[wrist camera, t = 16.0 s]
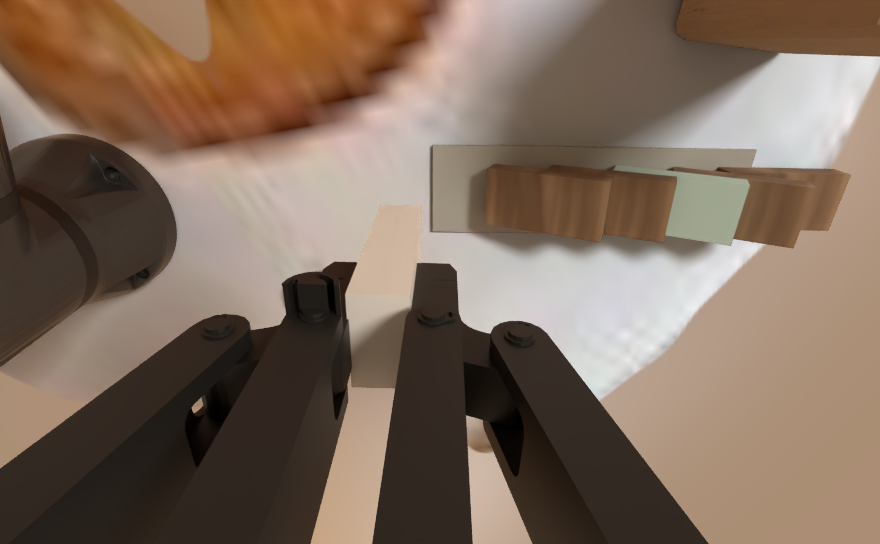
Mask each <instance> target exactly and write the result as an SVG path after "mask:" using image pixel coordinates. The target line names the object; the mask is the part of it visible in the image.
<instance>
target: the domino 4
mask: <svg viewBox="0 0 880 544" xmlns="http://www.w3.org/2000/svg"><path fill="white" fill-rule="evenodd" d="M718 171H719V172H728V173H737V174H746V175H755V176H763V177H772V178H781V179H790V180H799V181H808V182H812V183H813V184H814V186H815V187H816V191H815V193H814V196H813V199H812V201H811V204H810V206H809V209H808V212H807V214H806V217H805V219H804V222H803V225H802V227H801V230H817V231H818V230H819V231H821V230H822V231H828V230H829V228H830V226H831V223H832V220H833V218H834V216H835V213H836V211H837V208H838V206H839V203H840V201H841V199H842V196H843V194H844V191H845V188H846V186H847V184H848V181H849V178H850V176H851V175H850V174H847V173H843V172H841V171H838V170H835V169H799V168H744V167H719V169H718Z"/></svg>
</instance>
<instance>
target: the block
mask: <svg viewBox="0 0 880 544" xmlns="http://www.w3.org/2000/svg"><path fill="white" fill-rule="evenodd" d="M676 34H678V35H679V36H680V37H682V38H683V39H685V40H692V41H700V42H707V43H714V44H721V45H728V46H736V47H743V48H750V49H757V50H765V51H772V52H779V53H792V54H821V55H850V56H880V0H683V3H682V6H681V9H680V12H679V16H678V19H677V22H676Z"/></svg>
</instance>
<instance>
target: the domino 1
mask: <svg viewBox="0 0 880 544" xmlns="http://www.w3.org/2000/svg"><path fill="white" fill-rule="evenodd" d="M612 179H613V176H606V175H597V174H587V173H578V172H568V171H559V170H549V169H540V168H530V167H521V166H511V165H502V164H493V165H492V166H491V167H489V168H488V169H487V184H486V204H485V224H487V225H493V226H499V227H506V228H512V229H519V230H525V231H532V232H538V233H544V234H551V235H557V236H564V237H570V238H577V239H583V240H589V241H596V242H600V241H601V239H602V236H603V232H604V226H605V220H606V214H607V209H608V203H609V197H610V191H611V185H612Z"/></svg>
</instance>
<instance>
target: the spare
mask: <svg viewBox="0 0 880 544" xmlns="http://www.w3.org/2000/svg"><path fill="white" fill-rule="evenodd" d="M613 170H614V171H625V172H635V173H645V174H656V175H666V176H677V185H676V190H675V194H674V199H673V203H672V207H671V212H670V216H669V220H668V225H667V229H666V234H665V235H666V236H673V237H679V238H685V239H691V240H697V241H703V242H710V243H716V244H722V245H728V246H731V244H732V241H733V237H734V234H735V231H736V228H737V225H738V222H739V218H740V215H741V212H742V209H743V206H744V203H745V199H746V196H747V193H748V190H749V187H750V185H749V182H748V180H747V179H738V178H729V177H720V176H711V175H703V174H694V173H685V172H676V171H667V170H658V169H649V168H640V167H632V166H623V165H616V166H615V168H614V169H613Z"/></svg>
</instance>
